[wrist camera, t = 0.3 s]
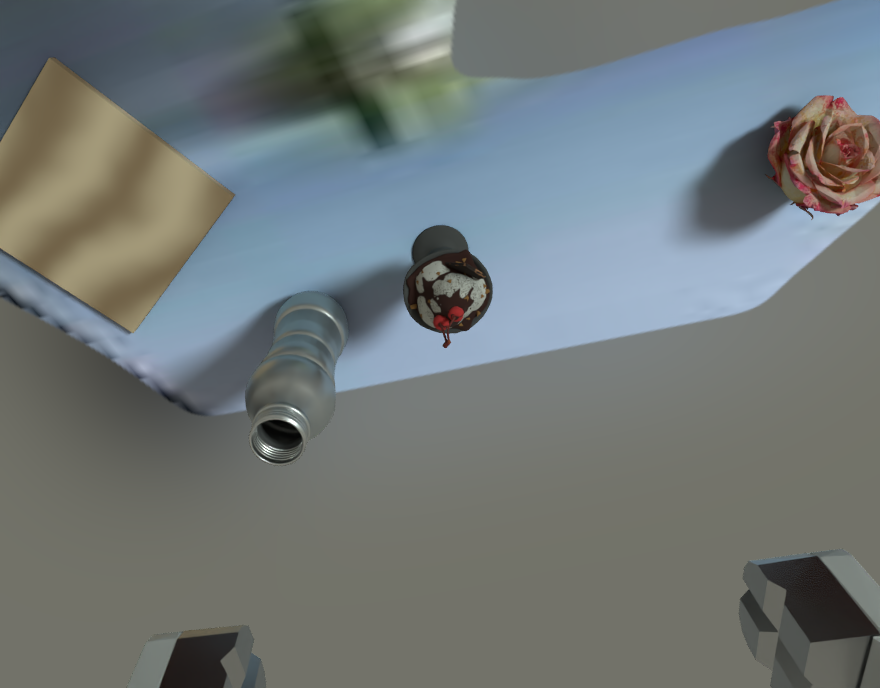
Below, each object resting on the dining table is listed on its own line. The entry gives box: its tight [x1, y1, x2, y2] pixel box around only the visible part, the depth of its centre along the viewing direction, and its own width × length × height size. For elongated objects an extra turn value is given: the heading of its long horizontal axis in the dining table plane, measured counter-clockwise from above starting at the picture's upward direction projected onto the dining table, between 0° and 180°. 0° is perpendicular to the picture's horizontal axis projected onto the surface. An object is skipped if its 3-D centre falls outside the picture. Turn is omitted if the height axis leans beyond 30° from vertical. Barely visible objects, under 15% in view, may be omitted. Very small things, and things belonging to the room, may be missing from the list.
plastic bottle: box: [245, 291, 349, 466], centre depth 50 cm, size 6×7×20 cm
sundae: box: [403, 225, 493, 348], centre depth 50 cm, size 7×7×15 cm
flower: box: [765, 96, 880, 220], centre depth 52 cm, size 10×9×8 cm
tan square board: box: [0, 58, 235, 333], centre depth 53 cm, size 16×16×1 cm
